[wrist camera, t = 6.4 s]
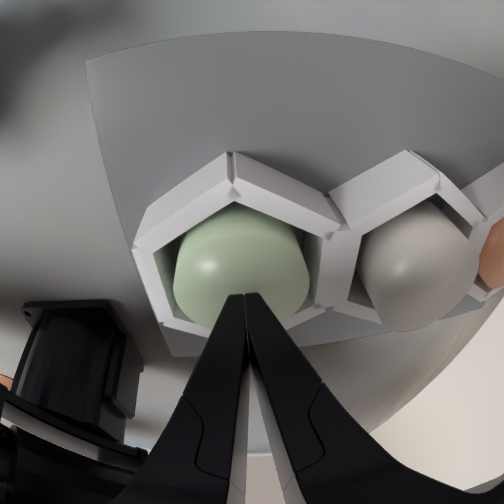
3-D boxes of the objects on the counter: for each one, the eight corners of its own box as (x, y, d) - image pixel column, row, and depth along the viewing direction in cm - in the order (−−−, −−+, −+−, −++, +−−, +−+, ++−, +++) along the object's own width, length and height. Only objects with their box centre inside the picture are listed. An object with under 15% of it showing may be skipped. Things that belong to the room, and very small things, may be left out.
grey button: (345, 291, 11) (365, 340, 9) (364, 200, 9) (399, 246, 7) (427, 279, 11) (452, 320, 10) (455, 198, 9) (494, 236, 7)
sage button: (191, 289, 12) (187, 337, 10) (171, 199, 9) (159, 243, 7) (291, 279, 12) (304, 327, 10) (295, 188, 9) (315, 229, 8)
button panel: (174, 335, 16) (170, 390, 13) (103, 58, 7) (50, 66, 5) (471, 292, 17) (495, 329, 14) (535, 98, 8) (581, 123, 5)
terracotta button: (448, 260, 12) (473, 295, 10) (473, 187, 10) (508, 218, 8) (495, 253, 12) (518, 282, 10) (519, 190, 10) (549, 216, 8)
